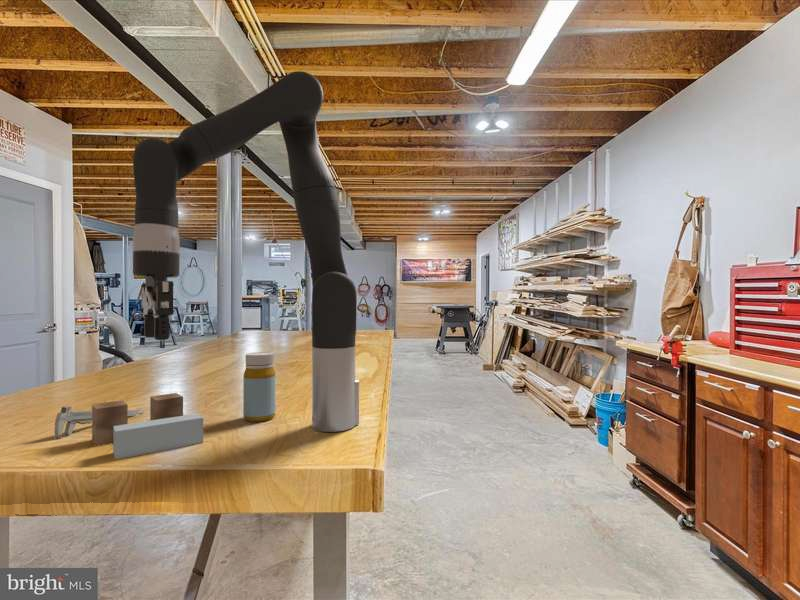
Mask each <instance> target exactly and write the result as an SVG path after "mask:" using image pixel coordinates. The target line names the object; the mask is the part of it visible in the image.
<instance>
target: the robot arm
mask: <svg viewBox="0 0 800 600" xmlns="http://www.w3.org/2000/svg"><path fill="white" fill-rule="evenodd" d="M323 101H324V90H323V87H322V85H321V83H320V82H319V80H318V79H317V78H316V77H315V76H313V75H312V74H311V73H310V72H309V73H308V72H306V71H300V70H299V71H298V70H297V71H292V72H289V73H288V74H285V76H283V77H281V78H280V79H278V80H276V81H275V82H274V83H272V84H270V85H269V86H268V87H267V88H264V90H262V91H260V92H258V93H257V94H255V95H253V96H252V97H250V98H248V99H246V100H245V101H242V102H241V103H239V104H237V105H235V106H233V107H231V108H229V109H227V110H224V111H222V112H219V113H218V114H216V115H213V116H210V117H207V118H206V119H204V120H201V121H199V122H196V123H194V124H192V125H189V126H187V127H185V128H184V129H183V130H182V131H181V132H180V133H179V136H178V137H176V138H175V139H173V140H171V141H169V142H167V141H165V140H163V139H160V138H156V137H150V138H146V139H143V140H142V141H139V142H138V143H137V145H136V146H135V148H134V150H133V155H132V168H133V180H134V187H135V205H134V229H133V230H134V231H133V236H132V274H133V275H134V276H135V277H141V278H142V277H143V278H146V279H145V283H142V284H141V285H140V288H141V298H140V299H141V300H140V301H141V302H140V313H141V314H142V318H144V321H143V322H144V324H143V325H144V326H143V336H144V337H145V338H154V340H156V341H159V340H160V341H164V340H168V339H169V338H170V319H171V317H172V316H173V315H174V312H175V310H174V286H175V284H174V281H173V280H172V281H171V280H168V279H169V278H170V279H172V278H174V279H175V278H178V277H179V276H180V261H181V260H180V253H181V252H180V243H181V242H180V235H179V207H178V200H177V186H178V185H177V184H178V181H181V180H183V179H184V178H185V177H187V176H188V175H190V174H192V173H194V172H195V171H196V170H198V169H199V168H200V167H202V166H203V165H205V164H207V163H210V162H213V161H215V160H217V159H219V158H221V157H223V156H225V155H228V154H230V153H231V152H234V151H235V150H237V149H239V148H240V147H242V146H244V145H245V144H247V143H248V142H249V141H250V140H252V139H253V138H255V137H256V136H257V135H258V134H260V133H261V132H263V131H264V130H266V129H267V128H269V127H271V126H272V125H275V124H277V123H278V124H279V127H280V130H281V134H282V138H283V140H284V141H283V142H284V144H285V147H286V152H287V159H288V160H287V161H288V169H289V175H290V182H291V188H292V189H291V190H292V195H293V202H294V208H295V211H296V216H297V220H298V224H299V226H300V227H299V228H300V230H301V234H302V237H303V240H304V243H305V245H306V249H307V253H308V257H309V261H310V262H309V263H310V271H311V272H310V273H311V282H312V283H311V284H312V285H311V286H312V290H311V342H312V343H311V362H312V363H311V371H312V372H311V378H312V379H311V390H312V393H311V394H312V395H311V409H312V410H311V413H312V414H311V416H312V417H311V425H312V429H314V430H315V431H319V432H325V433H329V432H330V433H334V432H335V433H337V432H343V431H347V430H351V429H353V428H354V427H355V426H357V425H360V382H359V380H358V379H356V336H357V300H358V299H357V289H356V286H355V283H354V281H353V280H352V279H351V278H350V277H349V275H348V273H347V269H346V264H345V261H344V257H343V252H342V241H341V239H342V238H341V235H342V234H341V219H340V218H341V215H340V207H339V206H340V205H339V201H338V196H337V191H336V186H335V182H334V178H333V176H332V173H331V171H330V169H329V168H328V165H327V163H326V162H325V160H324V156H323V155H322V153H321V150H320V146H319V140H318V131H317V116H318V114H319V112H320V110H321V109H322V105H323Z"/></svg>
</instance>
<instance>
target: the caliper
mask: <svg viewBox="0 0 800 600" xmlns="http://www.w3.org/2000/svg"><path fill="white" fill-rule="evenodd" d="M144 412H145V411H142V410H141V409H140V408H139V409H138V408H135V409H128V417H136V416H139V415H141V414H145V413H144ZM138 414H139V415H138ZM135 415H136V416H135ZM55 417H56V418H55V422H54V438H56V439H62V436H63V437H67V436H68V437H70V436H71V435H72V433H73V431H74V429H75V427H76V425H77V424H81V425H87V424H91V425H92V410H73V406H61V410H60V412H57V413H56V416H55ZM65 424H66V425H65ZM64 427H65V429H64ZM63 433H64V434H63ZM69 435H70V436H69Z"/></svg>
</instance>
